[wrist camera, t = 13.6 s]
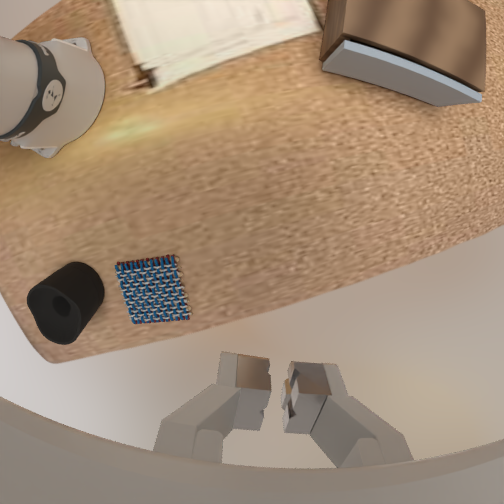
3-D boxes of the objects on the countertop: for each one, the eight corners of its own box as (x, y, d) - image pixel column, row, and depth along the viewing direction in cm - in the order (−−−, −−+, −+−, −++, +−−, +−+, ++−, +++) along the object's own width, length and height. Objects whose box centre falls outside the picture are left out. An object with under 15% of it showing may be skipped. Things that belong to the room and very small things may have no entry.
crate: (319, 60, 36) (343, 32, 25) (329, -10, 32) (352, -51, 21) (435, 98, 37) (484, 91, 26) (440, 31, 33) (484, 10, 22)
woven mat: (134, 321, 49) (130, 328, 47) (115, 260, 46) (110, 265, 44) (195, 316, 49) (193, 323, 47) (179, 251, 45) (176, 256, 43)
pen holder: (54, 294, 47) (23, 323, 38) (65, 248, 44) (30, 272, 35) (99, 321, 49) (73, 355, 39) (114, 276, 46) (86, 307, 36)
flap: (321, 70, 36) (343, 48, 26) (323, 63, 35) (344, 40, 25) (437, 106, 36) (481, 102, 26) (438, 100, 36) (481, 94, 26)
